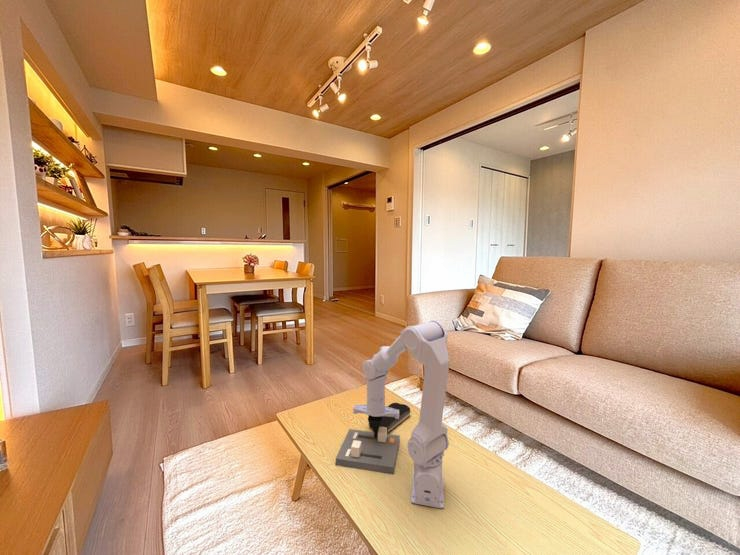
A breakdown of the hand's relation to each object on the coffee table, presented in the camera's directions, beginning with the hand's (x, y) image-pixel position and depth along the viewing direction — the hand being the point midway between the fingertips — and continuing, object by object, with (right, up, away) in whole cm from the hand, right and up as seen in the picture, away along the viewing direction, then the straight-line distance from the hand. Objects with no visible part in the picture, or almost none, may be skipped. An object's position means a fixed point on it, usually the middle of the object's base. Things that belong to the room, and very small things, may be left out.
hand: (376, 435), depth 95 cm
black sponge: (+5, -2, +13) cm, 14 cm away
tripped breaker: (+2, -1, 0) cm, 2 cm away
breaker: (-6, -2, -7) cm, 9 cm away
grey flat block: (-2, -3, -3) cm, 5 cm away
